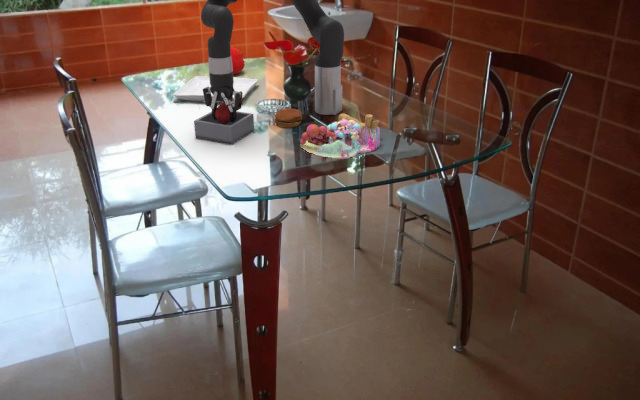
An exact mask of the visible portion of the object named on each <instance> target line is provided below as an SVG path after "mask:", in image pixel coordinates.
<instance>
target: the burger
mask: <svg viewBox="0 0 640 400" xmlns="http://www.w3.org/2000/svg"><path fill="white" fill-rule="evenodd" d="M273 120H274V124H276V126H278V127H280V128H285V129H286V128H288V129H289V128H290V129H292V128H296V127H298V126H300V125H301V123H302V120H303V114H302V112H301V110H299V109H296V108H289V107H288V108H287V107H284V108H281V109H279V110H278V111H276V113H275V115H274V119H273Z"/></svg>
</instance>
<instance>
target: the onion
mask: <svg viewBox="0 0 640 400" xmlns="http://www.w3.org/2000/svg"><path fill="white" fill-rule="evenodd" d="M215 116H216V119H217V120H218V121H219V122H220V123H222V124H223V125H226V124H227V123H229V122H230V110H229V108H228V106H227V105H226V103H225V102H222V103H220V104H218V106H217V109H216V112H215Z"/></svg>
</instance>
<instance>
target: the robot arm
mask: <svg viewBox="0 0 640 400" xmlns="http://www.w3.org/2000/svg"><path fill="white" fill-rule="evenodd" d="M237 1H238V0H206V2H205V4H204V5H203V7H202V9H201V13H200V19H201V22H202V24H203V25H204V26H205V27H207V28H210V29H214V31H213V36H210V37H209V38H208V39H207V54H208V74H209V75H208V76H209V78H210V85H211V87H206V88H204V89H203V94H204V99H205V102H204V103H205V106H206V107H209V108H210V109H211V112H212V117H213V118H214V120H217V119H216V116H215V112H216V109H217V107H218V106H219V101H223V102H225V103H226V105H227V106H228V108H229V110H230V122H232V123H233V122H235V120H236V119H237V116H236V111H239V110H241V109H242V106H243V104H242V103H243V99H242V94H243V93H242V92H241V91H240V92H237V91H235V90H234V88H233V83H234V81H233V77H234V75H233V66H232V59H231V47H232V46H231V40H232V35H233V29H234V21H235V20H234V15H233V12H232V10H231V9H230V8H228V6H229V5H231V4H235V3H237ZM290 2H291V4H292V5H293V6H294V8H295V9H296V11H298V12H299V15H300V16H301V18H302V19H303V21H304V23H305V25H306V27H307V29H308V32H309V33H310V35H311V37H312V38H313V40H315V41H316V42H317V43H318V44H319V51H318V54H317V55H316V56H314V111H315V113H316V114H319V115H322V116H323V115H326V116H329V115H333V116H334V115H335V116H336V115H338V114H339V113H340V112H341V111H343V84H341V74H342V73H341V71H342V70H341V68H342V60H343V55H344V48H345V47H344V45H345V30H344V26H343V24H342V23H341V22H340V21H338V20H336V19H334V18H331V17H329V16H328V15H327V13H326V12H325V10H323V8H322V7H321V5H320V4H319V2H318V0H290ZM211 92H212V94H213V99H212V96H211ZM233 95H234V98H235V101H234V98H233ZM229 100H230V102H229Z"/></svg>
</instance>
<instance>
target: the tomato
mask: <svg viewBox="0 0 640 400" xmlns="http://www.w3.org/2000/svg"><path fill="white" fill-rule="evenodd" d="M230 47H231V59H232V66H233V76H234V75H236V74H238V73H240V72H242V71H243V70H244V68H245V64H246V60H244V59H243V58H244V53H242V52H241V50H239V49H237V48H236V47H233V46H230Z"/></svg>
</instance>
